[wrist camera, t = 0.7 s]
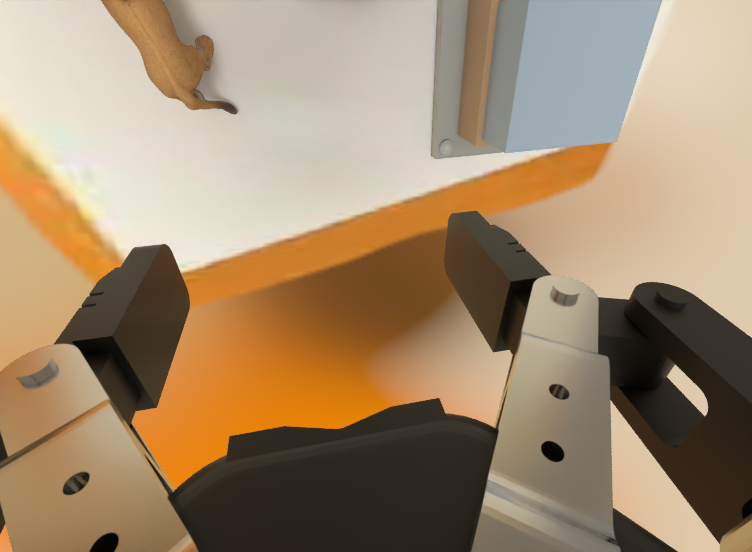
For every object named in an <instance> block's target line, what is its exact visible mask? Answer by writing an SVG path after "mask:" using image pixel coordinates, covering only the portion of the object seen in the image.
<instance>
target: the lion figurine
mask: <svg viewBox="0 0 752 552" xmlns="http://www.w3.org/2000/svg"><path fill="white" fill-rule="evenodd" d="M101 1H102V2H103V4H104V6H105V7H106V9H107V10H108V12H109V13H110V14H111V16H112V17H113V18H114V19H115V21H116V22H117V23H118V25H119V26H120V27H121V28H122V29H123V30H124V31H125V33H126V34H127V35H128V36H129V37H130V38H131V39H132V41H133V42H134V43H135V45H136V46H137V47H138V49H139V51H140V53H141V55H142V58H143V61H144V65H145V68H146V71H147V74H148V76H149V78H150V80H151V81H152V82H153V83H154V84H155V86H156V87H157V88H158V89H159V90H160V91H161V92H162V93H163V94H164V95H165V96H167V97H169V98H173V99H178V100H180V101H182V102H183V103H184V104H185V105H186V106H187V107H188V108H189V109H191V110H198V109H211V108H217V109H223V110H225V111H227V112H229V113H231V114H236V113H237V110H236V109H234V107H233V106H232V105H230V104H228V103H225V102H220V101H207V100H204V99H203V97H202V95H201V94H200V93H199V92H198V91H196V90H193V89H195V88H196V86H197V85H198V84H199V82H200V79H201V76H202V73H203V70H205V71H208V70H209V69H210V63H211V57H212V55H213V43H212V41H211V39H210V38H208V37H207V36H200V37H198V38H197V39H196V46H197V48H195V47H193V46H186V45H183V44H182V43H181V42H180V41H179V39H178V37H177V35H176V33H175V30H174V27H173V24H172V21H171V18H170V15H169V13H168V10H167V8H166V6H165V4H164V3H163V1H162V0H101Z"/></svg>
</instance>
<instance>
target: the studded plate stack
mask: <svg viewBox="0 0 752 552" xmlns="http://www.w3.org/2000/svg"><path fill="white" fill-rule="evenodd" d="M661 2H662V0H438V15H437V38H436V60H435V82H434V104H433V127H432V149H431V156H432V157H434V158H435V159H440V158H450V157H460V156H470V155H480V154H490V153H500V152H504V153H511V152H521V151H531V150H541V149H551V148H561V147H571V146H581V145H591V144H601V143H611V142H617V139H618V136H619V133H620V130H621V127H622V124H623V121H624V117H625V114H626V111H627V108H628V105H629V102H630V99H631V96H632V93H633V89H634V86H635V83H636V80H637V77H638V74H639V71H640V68H641V65H642V61H643V58H644V55H645V52H646V49H647V46H648V43H649V40H650V37H651V33H652V30H653V27H654V24H655V21H656V18H657V15H658V12H659V9H660V5H661Z"/></svg>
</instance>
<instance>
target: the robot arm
mask: <svg viewBox="0 0 752 552" xmlns="http://www.w3.org/2000/svg"><path fill="white" fill-rule="evenodd" d="M444 262H445V270H446V273H447V276H448V278H449V279H450V281H451V283H452V284H453V286H454V288H455V289H456V291H457V292H458V294H459V296H460V298H461V299H462V301H463V303H464V304H465V306H466V308H467V309H468V311H469V313H470V314H471V316H472V318H473V319H474V321H475V323H476V324H477V326H478V328H479V329H480V331H481V333H482V334H483V336H484V338H485V339H486V341H487V343H488V344H489V346H490V348H491V349H492V351H493V352H498V351H504V350H510V351H511V353H512V354H513V356H512V360H511V363H510V367H509V371H508V375H507V379H506V383H505V387H504V391H503V394H502V398H501V402H500V406H499V410H498V414H497V418H496V422H495V425H494V427H492V426H490V425H488V424H486V423H483V422H481V421H478V420H476V419H472V418H469V417H466V416H460V415H455V414H446V413H445V412H444V409H443V407H442V404H441V401H440V399H439V398H436V399H431V400H426V401H420V402H415V403H410V404H404V405H398V406H393V407H389V408H387V409H385V410H383V411H380V412H378V413H376V414H374V415H371V416H369V417H367V418H365V419H362V420H360V421H358V422H356V423H354V424H351V425H349V426H347V427H344V428H341V429H324V428H305V427H287V426H284V427H279V428H273V429H267V430H262V431H256V432H251V433H245V434H240V435H234V436H230V437H229V444H228V452H227V455H226V456H224V457H221V458H219V459H217V460H215V461H214V462H212V463H210V464H208V465H206V466H205V467H203V468H202V469H201V470H199V471H198V472H196V473H195V474H193V475H192V476H191V477H190V478H188V479H187V480H186V481H185V482H183V483H182V484H181V485H180V486H179V487H178V488H177V489H176V490H175V489H174V488H173V486H172V485H171V483H170V482H169V480H168V479H167V477H166V475H165V474H164V472H163V471H162V469H161V467H160V466H159V465H158V463H157V461H156V460H155V458H154V456H153V455H152V453H151V452H150V450H149V449H148V447H147V446H146V444H145V442H144V441H143V439H142V438H141V436H140V434H139V433H138V431H137V430H136V428H135V427H134V425H133V424H132V423H131V421H132V419H133V416H134V414H135V411H139V410H145V409H151V408H157V405H158V402H159V399H160V396H161V393H162V390H163V387H164V384H165V381H166V378H167V375H168V372H169V369H170V366H171V363H172V360H173V357H174V354H175V351H176V348H177V345H178V342H179V339H180V336H181V333H182V330H183V327H184V324H185V321H186V318H187V315H188V312H189V308H190V299H189V293H188V290H187V287H186V285H185V282H184V280H183V278H182V275H181V273H180V270H179V268H178V265H177V263H176V260H175V258H174V256H173V253H172V251H171V249H170V248H169V246H167V245H166V244H162V245H152V246H143V247H135V248H133V249H132V251H131V252H130V254H129V255H128V257H127V258H126V260H125V261H124V263H123V264H122V266H121V267H119V268H115V269H114V270H112V271H111V272H110V273H108V274H107V275H106V276H104V277H103V278H102V279H100V280H99V281H98V282H97V284H96V285H95V287H94V288H93V290H92V291H91V293H90V296H89V297H87V298H86V300H85V301H84V302H83V304H82V308H79V309H78V311H77V312H76V314H75V315H74V316H73V318H72V319H71V321H70V322H69V323H68V325H67V326H66V328H65V329H64V331H63V332H62V333H61V335H60V336H59V338H58V339H57V340H56V342H55V343H54V345H49V346H46V347H42V348H39V349H36V350H34V351H32V352H29V353H27V354H25V355H23V356H21V357H20V358H18V359H16V360H15V361H13V362H12V363H10V364H9V365H8V366H6V367H5V368H4V369H3V370H2V371H1V372H0V533H1V531H2V529H3V527H4V525H5V523H6V527H7V530H8V535H9V539H10V543H11V547H12V551H13V552H677V551H676V550H675V549H673V548H672V547H670V546H669V545H667V544H666V543H664V542H663V541H661V540H660V539H658V538H657V537H656V536H654V535H653V534H651V533H650V532H648V531H647V530H645V529H644V528H642V527H641V526H639V525H638V524H636V523H635V522H634V521H632V520H631V519H629V518H628V517H626V516H625V515H623V514H622V513H620V512H619V511H617V510H616V509H614V508H613V503H612V502H613V500H612V459H611V458H612V456H611V413H610V400H611V401H612V402H613V404H614V405H615V406H616V408H617V409H618V410H619V412H620V413H621V414H622V416H623V417H624V418H625V419H626V421H627V422H628V424H629V425H630V426H631V427H632V429H633V430H634V431H635V433H636V434H637V435H638V437H639V438H640V439H641V441H642V442H643V443H644V445H645V446H646V447H647V449H648V450H649V451H650V453H651V454H652V455H653V457H654V458H655V459H656V460H657V462H658V463H659V464H660V466H661V467H662V468H663V470H664V471H665V472H666V474H667V475H668V476H669V478H670V479H671V480H672V482H673V483H674V484H675V486H676V487H677V488H678V490H679V491H680V492H681V494H682V495H683V496H684V498H685V499H686V500H687V502H688V503H689V504H690V506H691V507H692V508H693V509H694V511H695V512H696V513H697V515H698V516H699V517H700V519H701V520H702V521H703V523H704V524H705V525H706V527H707V528H708V529H709V531H710V532H711V533H712V535H713V536H714V537H715V538H716V540H717V541H718V542H719V544H720V552H752V338H751V337H750V336H748V335H747V334H746V333H744V332H743V331H742V330H740V329H739V328H738V327H736V326H735V325H734V324H732V323H731V322H730V321H728V320H727V319H726V318H724V317H723V316H722V315H720V314H719V313H718V312H716V311H715V310H714V309H712V308H711V307H710V306H708V305H707V304H706V303H704V302H703V301H702V300H700V299H699V298H698V297H696V296H695V295H693V294H691V293H690V292H688V291H686V290H683V289H681V288H679V287H676V286H672V285H669V284H664V283H658V282H646V283H642V284H639V285H638V286H636V287H635V289H634V291H633V292H632V295H631V297H630V299H629V300H626V299H613V298H600V297H598V296H597V294H596V293H595V292H594V290H593V289H591V288H590V287H589V286H588V285H586V284H584V283H583V282H581V281H578V280H576V279H573V278H570V277H566V276H559V275H551V274H550V273H549V272H548V271H547V270H546V269H545V268H544V267H543V266H542V265H541V264H540V263H539V262H538V261H537V260H536V259H535V258H534V257H533V256H532V255H531V254H530V253H529V252H526V249H525V248H524V247H523V246H522V245H521V244H518V241H517V240H516V239H515V238H514V237H513V236H512V235H511V234H510V233H509V232H507V231H505V230H503V229H501V228H499V227H497V226H495V225H490V224H489V223H488V222H487V221H486V220H485V219H484V218H483V217H482V216H481V215H480V214H479V213H478V212H477V211H470V212H461V213H452V214H451V215H450V217H449V220H448V229H447V239H446V248H445V259H444ZM675 364H676V365H677V366H678V367H679V368H680V369H681V370H682V371H683V372H684V373H685V374H686V375H687V376H688V377H689V378H690V379H691V380H692V381H693V382H694V383H695V384H696V385H697V386H698V387H699V388H700V389H701V390H702V392H703V393H704V395H705V397H706V399H707V402H708V412H707V415H706V416H704V415H703V414H702V413H701V412H700V411H699V410H698V409H697V408H696V407H695V406H694V405H693V404H692V403H691V402H690V401H689V400H688V399H687V398H686V397H685V395H684V394H682V392H681V391H680V390H679V389H678V388H677V387H676V386H675V385H674V384H673V383H672V382H671V381H670V380H669V379H668V378H667V375H668V374H669V372H670V371H671V369H672V368H673V367H674V365H675Z"/></svg>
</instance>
